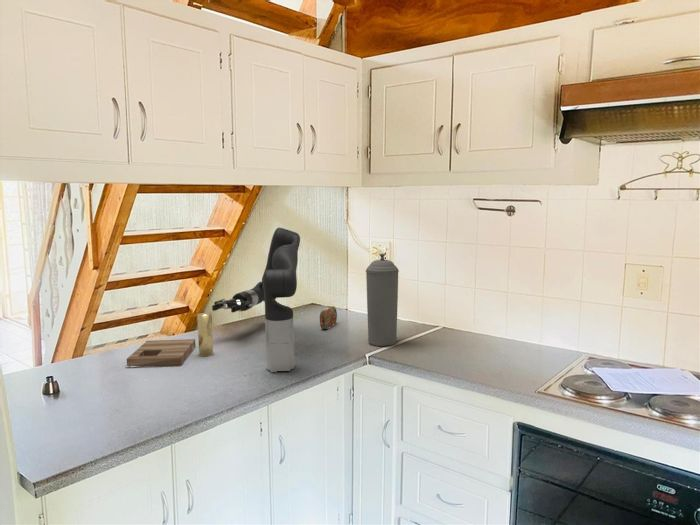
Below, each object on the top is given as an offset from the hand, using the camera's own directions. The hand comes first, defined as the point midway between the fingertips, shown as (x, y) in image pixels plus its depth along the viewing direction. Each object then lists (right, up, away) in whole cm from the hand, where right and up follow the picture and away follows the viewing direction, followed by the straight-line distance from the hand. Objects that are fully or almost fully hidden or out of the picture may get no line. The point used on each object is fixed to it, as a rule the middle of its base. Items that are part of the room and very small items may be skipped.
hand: (222, 309), depth 195 cm
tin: (+39, -11, +28) cm, 50 cm away
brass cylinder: (-4, -16, -9) cm, 18 cm away
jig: (-19, -16, -11) cm, 27 cm away
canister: (+61, -14, +3) cm, 63 cm away
